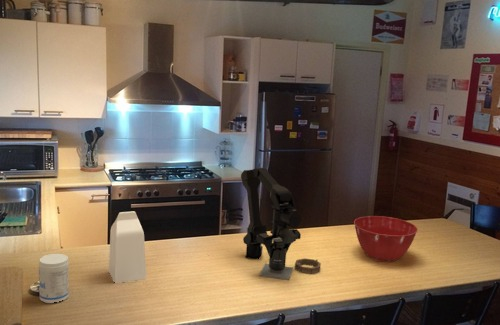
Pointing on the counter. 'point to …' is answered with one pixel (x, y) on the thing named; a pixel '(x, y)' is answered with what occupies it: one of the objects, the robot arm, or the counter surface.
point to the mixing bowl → (384, 237)
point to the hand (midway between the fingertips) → (277, 256)
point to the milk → (127, 249)
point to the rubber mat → (276, 272)
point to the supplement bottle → (278, 255)
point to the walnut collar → (307, 269)
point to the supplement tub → (53, 278)
